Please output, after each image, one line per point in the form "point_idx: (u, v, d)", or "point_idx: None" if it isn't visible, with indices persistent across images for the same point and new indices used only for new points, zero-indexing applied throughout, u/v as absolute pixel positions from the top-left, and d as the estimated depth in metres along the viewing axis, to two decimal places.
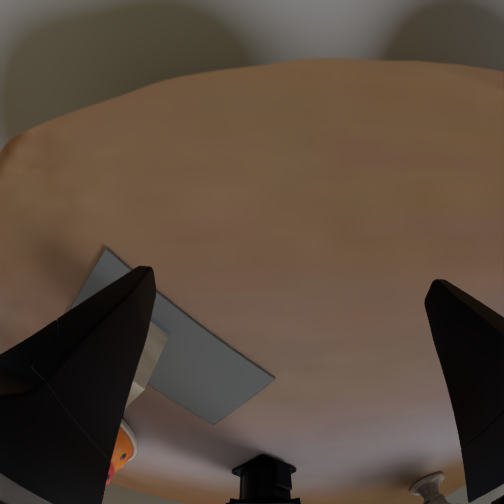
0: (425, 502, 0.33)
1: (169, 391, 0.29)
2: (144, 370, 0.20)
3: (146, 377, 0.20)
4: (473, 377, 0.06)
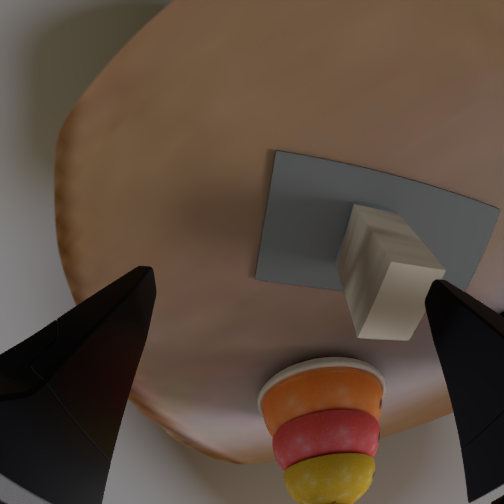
0: None
1: None
2: (424, 252, 0.15)
3: (433, 258, 0.14)
4: (473, 377, 0.06)
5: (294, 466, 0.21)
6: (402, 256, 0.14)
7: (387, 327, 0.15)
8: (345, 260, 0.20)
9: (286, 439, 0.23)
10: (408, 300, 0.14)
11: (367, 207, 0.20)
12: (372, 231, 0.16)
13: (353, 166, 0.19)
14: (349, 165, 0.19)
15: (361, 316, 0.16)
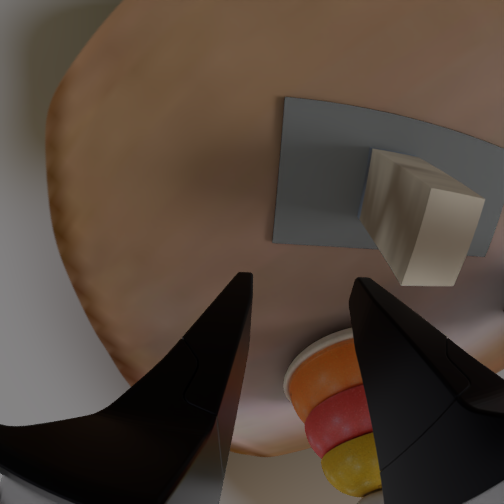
0: None
1: None
2: (458, 184, 0.12)
3: (469, 189, 0.12)
4: (388, 392, 0.06)
5: (333, 450, 0.19)
6: (439, 185, 0.11)
7: (431, 270, 0.13)
8: (371, 208, 0.18)
9: (321, 421, 0.21)
10: (451, 235, 0.12)
11: (387, 151, 0.17)
12: (401, 166, 0.14)
13: (367, 109, 0.16)
14: (363, 108, 0.16)
15: (403, 259, 0.13)
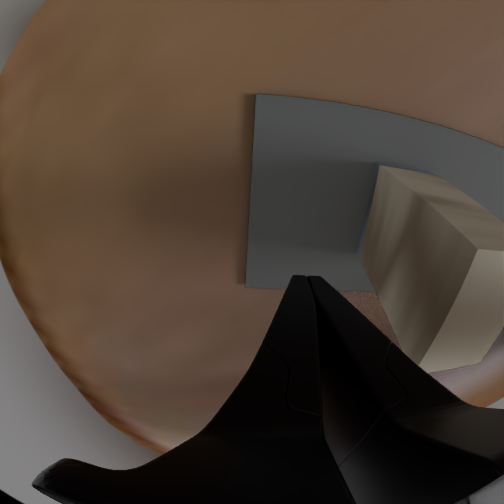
0: None
1: None
2: None
3: None
4: (328, 397, 0.06)
5: None
6: (485, 237, 0.07)
7: (456, 352, 0.08)
8: (375, 249, 0.13)
9: None
10: (491, 308, 0.07)
11: (399, 168, 0.13)
12: (424, 200, 0.09)
13: (373, 110, 0.12)
14: (367, 108, 0.12)
15: (419, 341, 0.09)
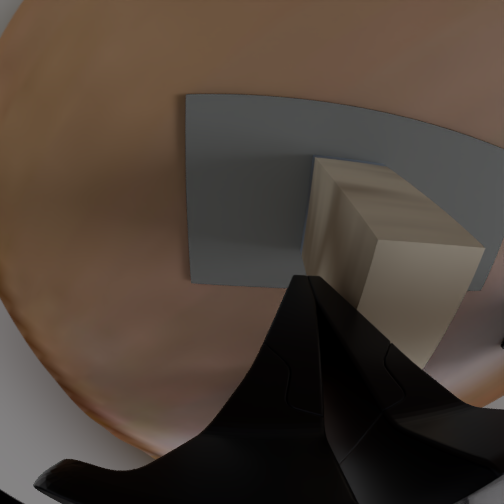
0: None
1: None
2: (441, 218, 0.08)
3: (458, 227, 0.07)
4: (327, 397, 0.06)
5: None
6: (401, 227, 0.07)
7: None
8: (311, 245, 0.13)
9: None
10: (419, 310, 0.07)
11: (338, 160, 0.13)
12: (341, 189, 0.09)
13: (306, 100, 0.12)
14: (300, 99, 0.12)
15: None
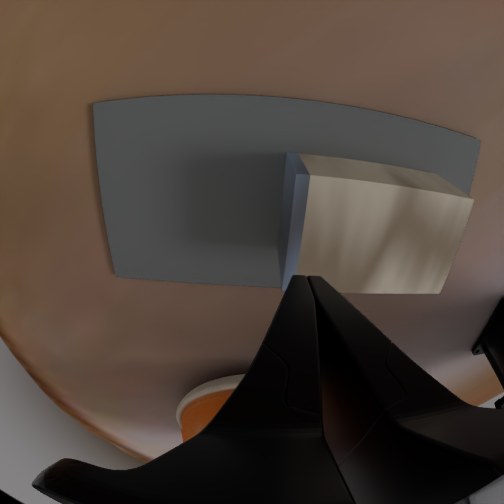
0: None
1: None
2: (416, 172, 0.13)
3: (421, 171, 0.13)
4: (328, 397, 0.06)
5: None
6: (451, 189, 0.11)
7: None
8: (337, 263, 0.12)
9: None
10: None
11: (307, 167, 0.11)
12: (416, 188, 0.10)
13: (198, 95, 0.12)
14: (192, 95, 0.12)
15: (438, 274, 0.12)
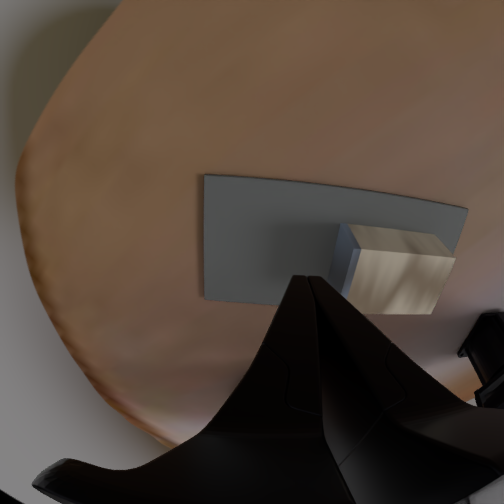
0: None
1: None
2: (421, 235, 0.20)
3: (424, 234, 0.20)
4: (328, 397, 0.06)
5: None
6: (442, 250, 0.18)
7: None
8: (369, 297, 0.19)
9: None
10: None
11: (357, 240, 0.18)
12: (420, 254, 0.17)
13: (287, 182, 0.19)
14: (282, 181, 0.19)
15: (430, 302, 0.19)
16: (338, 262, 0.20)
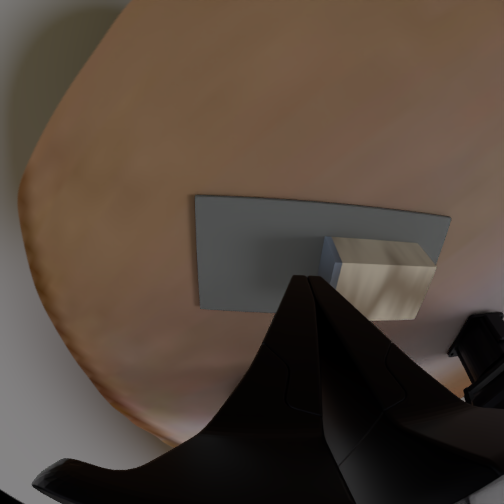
0: None
1: None
2: (403, 245, 0.21)
3: (407, 243, 0.22)
4: (328, 397, 0.06)
5: None
6: (423, 259, 0.20)
7: None
8: (353, 305, 0.20)
9: None
10: None
11: (339, 254, 0.20)
12: (400, 265, 0.19)
13: (272, 200, 0.20)
14: (268, 200, 0.20)
15: (413, 309, 0.21)
16: (323, 273, 0.22)
